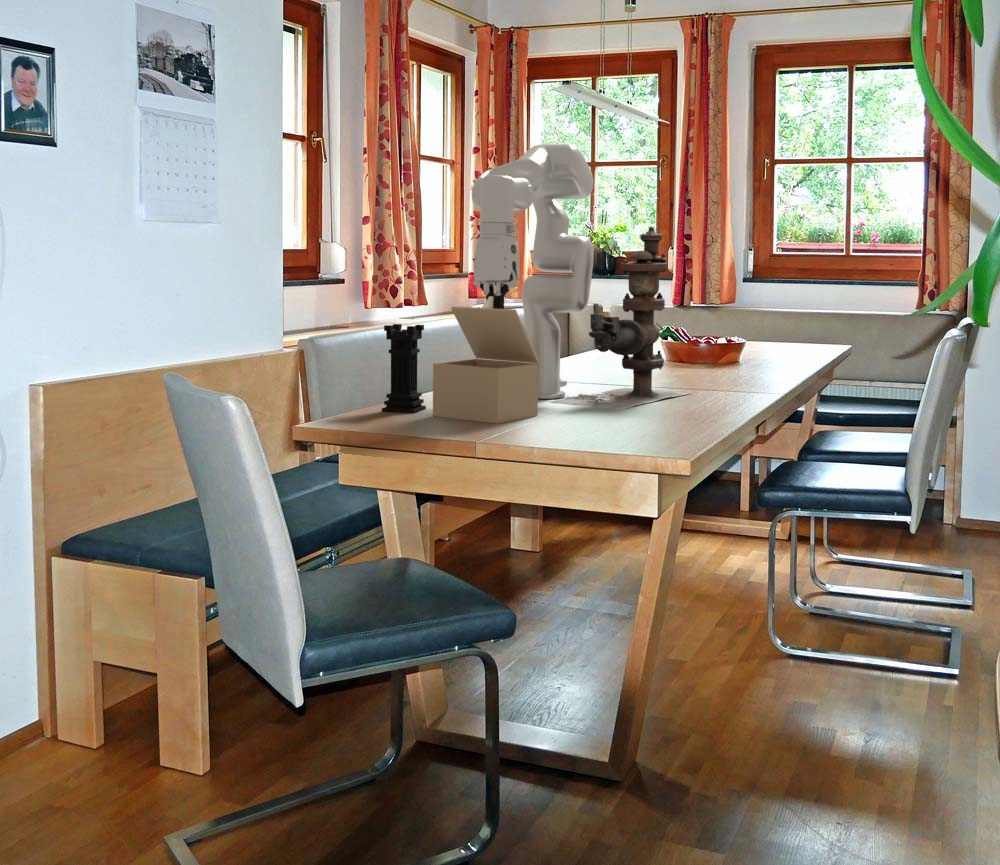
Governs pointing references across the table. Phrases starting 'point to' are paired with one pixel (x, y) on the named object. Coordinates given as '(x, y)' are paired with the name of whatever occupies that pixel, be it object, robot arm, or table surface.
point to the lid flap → (495, 333)
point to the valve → (632, 331)
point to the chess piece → (403, 369)
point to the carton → (485, 390)
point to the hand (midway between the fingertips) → (494, 312)
